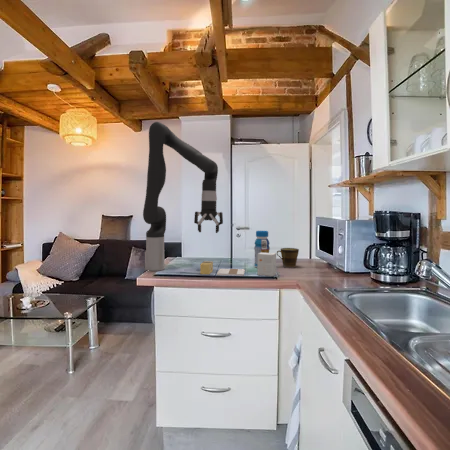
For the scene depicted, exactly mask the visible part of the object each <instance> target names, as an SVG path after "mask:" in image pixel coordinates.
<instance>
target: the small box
mask: <svg viewBox="0 0 450 450" xmlns="http://www.w3.org/2000/svg"><path fill="white" fill-rule="evenodd" d="M257 255H258V268H257V275H258V276H263V277H264V276H265V277H274V276H276V275H277V252H269V253H263V252H261V253H258V254H257Z"/></svg>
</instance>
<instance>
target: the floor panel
mask: <svg viewBox="0 0 450 450" xmlns="http://www.w3.org/2000/svg"><path fill="white" fill-rule="evenodd" d="M245 271H246V270H245V269H243V268H242V269H241V268H219V270H218V271H217V272H216V275H217V276H233V277H235V276H240V277H241V276H242V277H244V276H245Z"/></svg>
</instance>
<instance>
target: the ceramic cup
mask: <svg viewBox="0 0 450 450" xmlns="http://www.w3.org/2000/svg"><path fill="white" fill-rule="evenodd" d="M299 251H300V249H299V248H297V247H296V248H295V247H283V248H282V247H281V248H280V250H277V251H276V256H278V257H279V258H280V260H282V267H283V268H286V269H287V268H289V269H290V268H291V269H292V268H296V266H297V263H298V262H297V260H298V255H299ZM279 252H280V255H279V254H278V253H279Z"/></svg>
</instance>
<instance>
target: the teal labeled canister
mask: <svg viewBox="0 0 450 450" xmlns="http://www.w3.org/2000/svg"><path fill="white" fill-rule="evenodd" d="M255 237H256V239H255V240H254V248H253V250H254V264H253V265H254V268H257V269H258V255H257V254H258V253H261V252H263V253H270V250H271V248H270V240H269V238H268V237H269V230H256V232H255Z"/></svg>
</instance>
